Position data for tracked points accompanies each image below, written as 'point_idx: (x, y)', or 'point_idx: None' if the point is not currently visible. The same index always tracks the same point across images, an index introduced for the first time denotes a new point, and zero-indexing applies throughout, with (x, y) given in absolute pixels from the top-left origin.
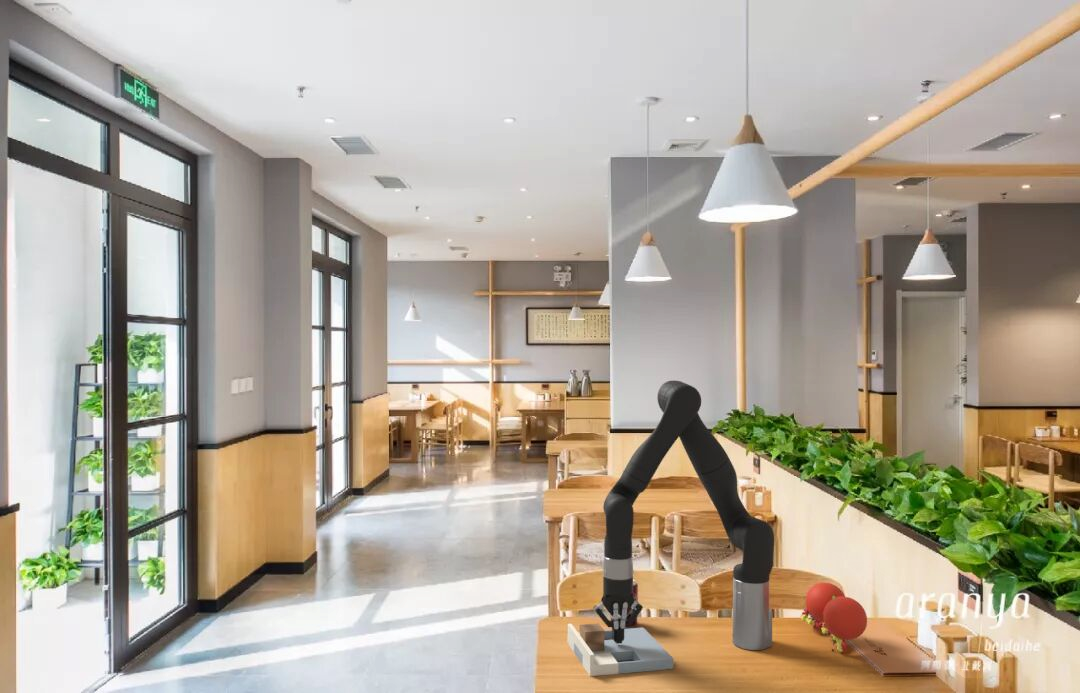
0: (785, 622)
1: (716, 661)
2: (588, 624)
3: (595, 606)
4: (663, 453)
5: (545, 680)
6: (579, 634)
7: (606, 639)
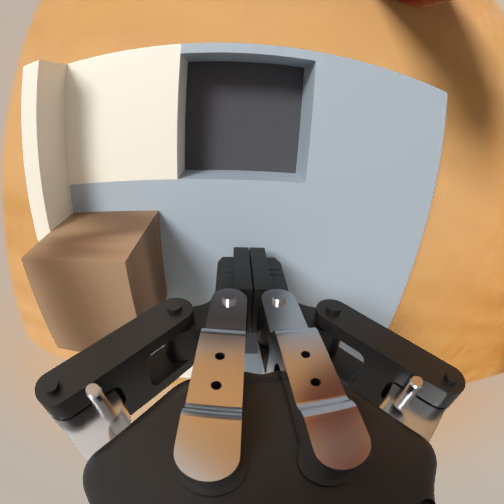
0: None
1: (459, 318)
2: (61, 264)
3: (49, 414)
4: None
5: (27, 331)
6: (95, 82)
7: (256, 64)
